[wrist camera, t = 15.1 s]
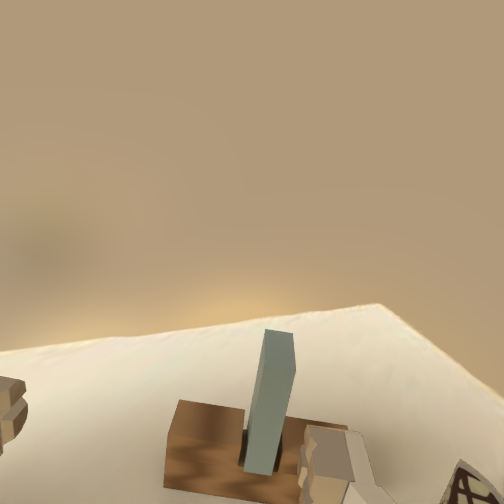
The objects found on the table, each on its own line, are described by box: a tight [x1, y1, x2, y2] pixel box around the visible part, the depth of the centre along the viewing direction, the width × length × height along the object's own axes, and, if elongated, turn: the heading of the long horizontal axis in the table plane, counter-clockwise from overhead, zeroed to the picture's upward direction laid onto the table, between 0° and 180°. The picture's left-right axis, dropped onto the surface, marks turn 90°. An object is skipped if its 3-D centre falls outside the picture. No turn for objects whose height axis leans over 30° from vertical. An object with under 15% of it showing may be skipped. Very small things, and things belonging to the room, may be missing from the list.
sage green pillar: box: [244, 329, 296, 476], centre depth 39 cm, size 3×6×14 cm, turn 177°
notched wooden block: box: [163, 400, 348, 504], centre depth 42 cm, size 20×5×8 cm, turn 86°
